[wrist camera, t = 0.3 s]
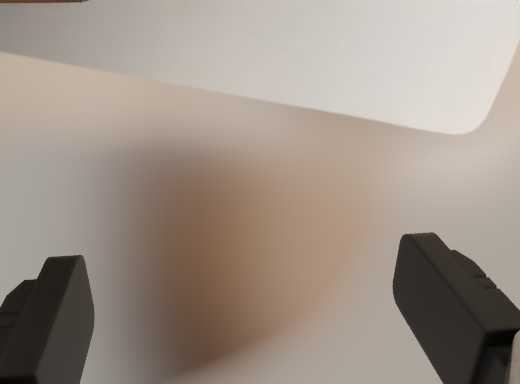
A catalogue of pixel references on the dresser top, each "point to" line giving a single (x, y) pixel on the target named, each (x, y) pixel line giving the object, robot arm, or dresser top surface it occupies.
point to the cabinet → (39, 1)
